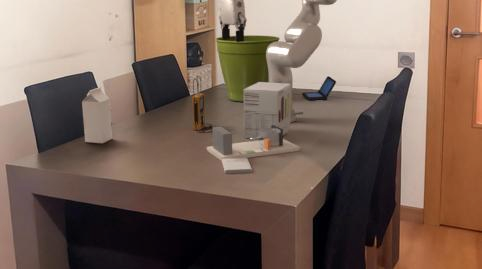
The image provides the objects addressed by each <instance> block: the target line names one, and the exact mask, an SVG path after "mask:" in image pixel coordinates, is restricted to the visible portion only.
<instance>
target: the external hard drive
mask: <svg viewBox="0 0 482 269" xmlns="http://www.w3.org/2000/svg"><path fill="white" fill-rule="evenodd" d="M221 162H222V166H223V171H224V174H238V173H239V174H240V173H241V174H243V173H253V168H252V165H251V164H250V162H249V159H248V158H226V159H222V161H221Z"/></svg>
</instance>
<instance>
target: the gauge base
mask: <svg viewBox="0 0 482 269" xmlns="http://www.w3.org/2000/svg"><path fill="white" fill-rule="evenodd" d="M212 127H213V128H211V132H212V145H211V146H206V151H207V152H208V153H210V154H211V155H212V156H214V157H215V158H217V159H218V160H220V161H221V162H222V159H226V158H247V159H248V158H253V157H261V156H270V155H276V154H277V155H278V154H287V153H291V152H293V153H294V152H299V151H300V149H301V148H300V146H298V145H297V144H294V143H292V142H290V141H288V140H286V139H285V138H283V145H282V146H280V145H279V146H273V147H272V148H271V149H266V148H264V146H263V145H262V144H260V143H259V141H253V142H250V141H244V142H235V143H233V133H232V132H230V131H229V130H228V129H226V128H224V127H222V126H212Z"/></svg>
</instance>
